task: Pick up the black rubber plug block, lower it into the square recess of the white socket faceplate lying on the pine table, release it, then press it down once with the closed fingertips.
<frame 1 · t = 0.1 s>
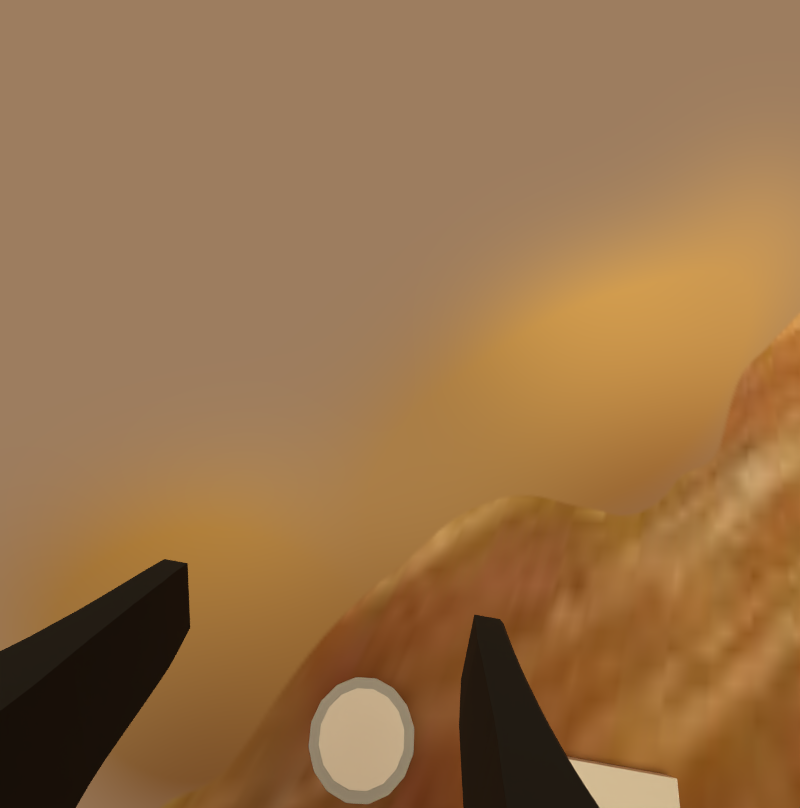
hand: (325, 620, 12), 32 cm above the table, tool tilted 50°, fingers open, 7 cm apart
shot glass: (368, 727, 38), on the table
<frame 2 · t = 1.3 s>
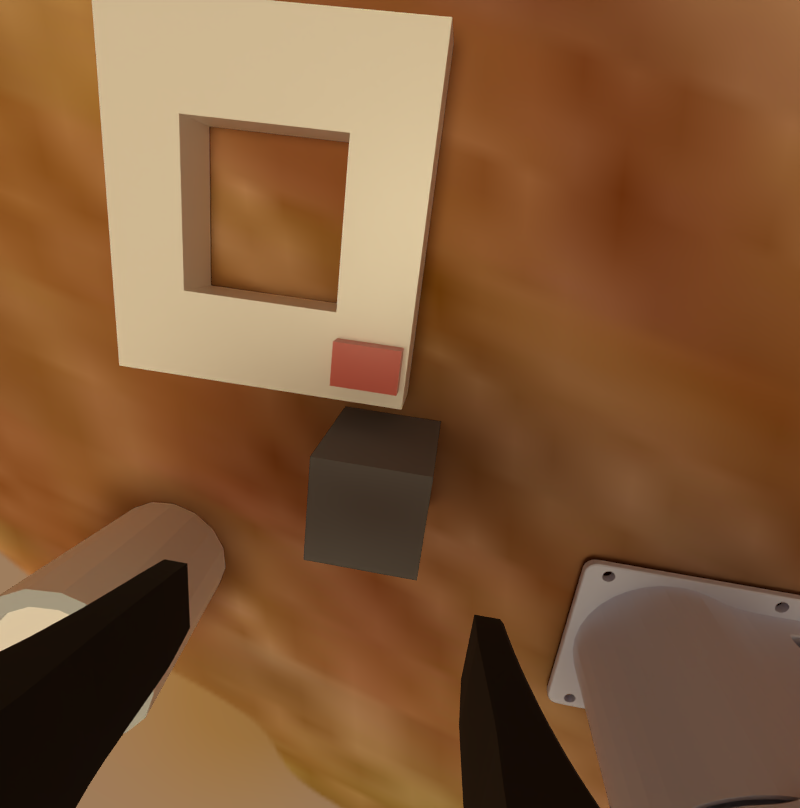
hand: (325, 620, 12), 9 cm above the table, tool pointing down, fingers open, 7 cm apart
socket plate: (282, 219, 18), on the table
shot glass: (173, 550, 24), on the table
plug: (387, 456, 21), on the table
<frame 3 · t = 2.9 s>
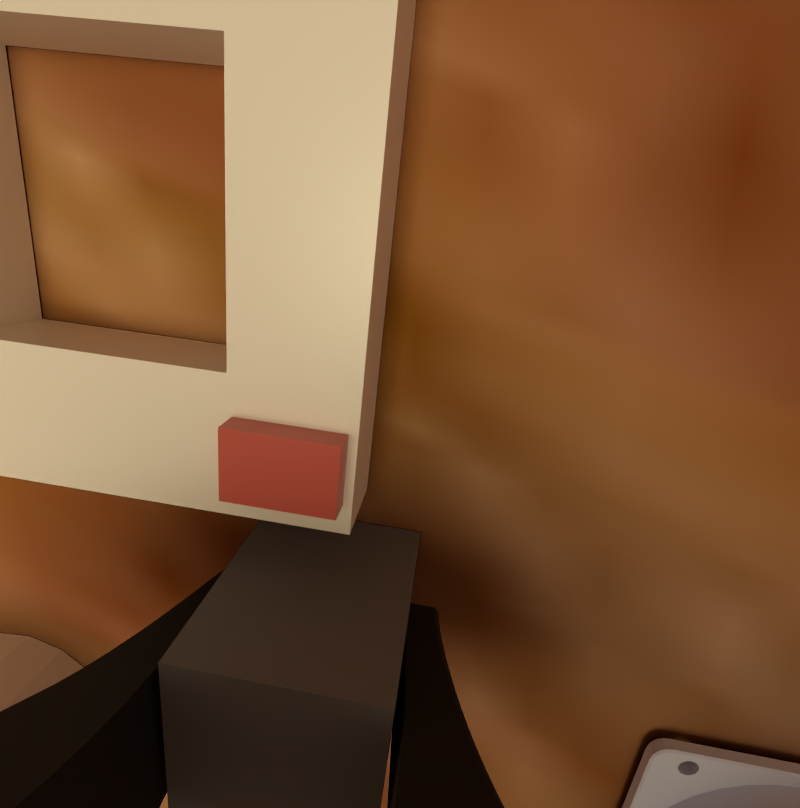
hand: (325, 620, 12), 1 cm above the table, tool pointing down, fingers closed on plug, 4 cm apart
socket plate: (144, 208, 11), on the table
shot glass: (39, 694, 17), on the table
plug: (338, 582, 13), on the table, touching gripper
when the fingers open (2 cm above the table, at t = 5.6 s): plug stays where it is, resting in socket plate.
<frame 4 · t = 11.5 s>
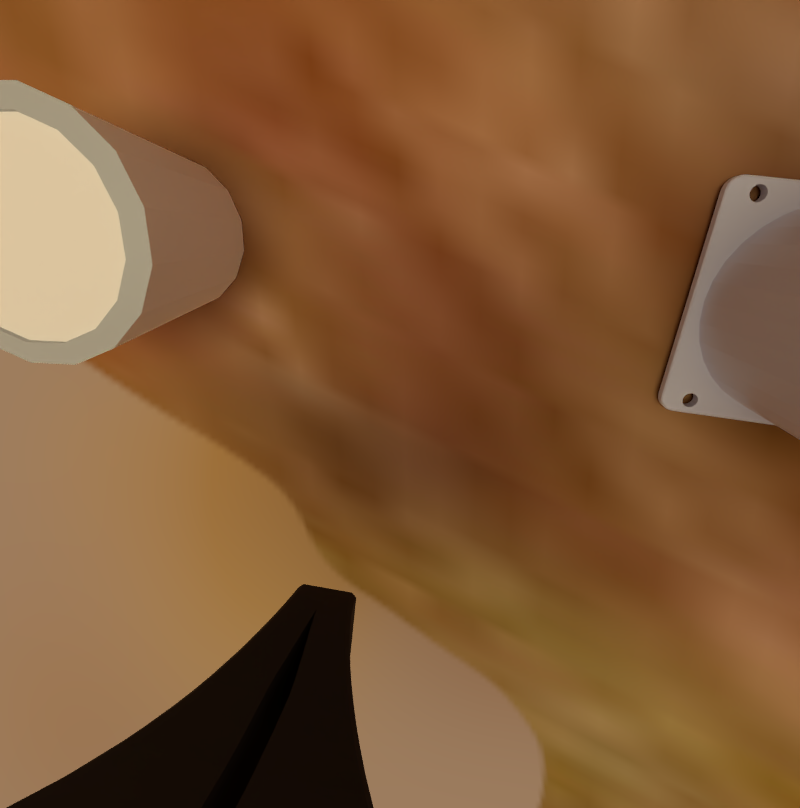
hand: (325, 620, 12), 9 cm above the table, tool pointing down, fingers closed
shot glass: (177, 234, 19), on the table
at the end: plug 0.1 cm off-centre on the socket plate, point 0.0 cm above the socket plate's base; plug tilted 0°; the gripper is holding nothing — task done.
